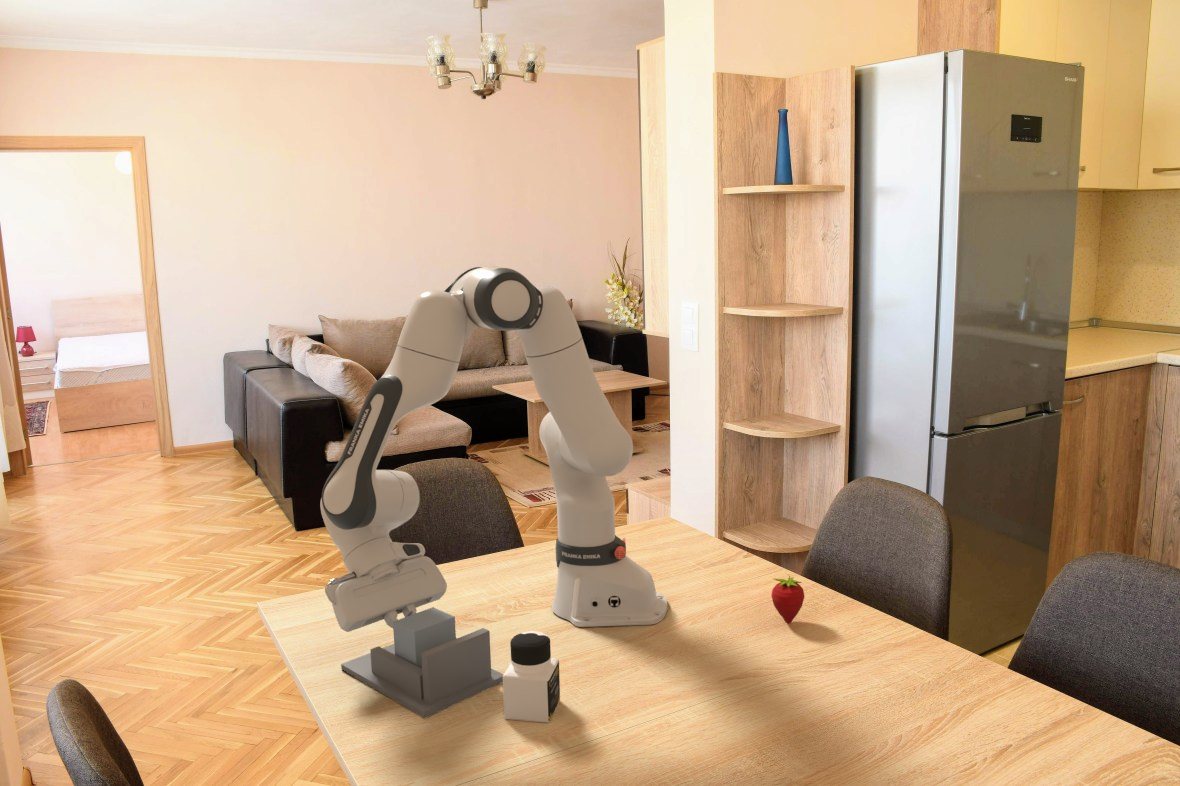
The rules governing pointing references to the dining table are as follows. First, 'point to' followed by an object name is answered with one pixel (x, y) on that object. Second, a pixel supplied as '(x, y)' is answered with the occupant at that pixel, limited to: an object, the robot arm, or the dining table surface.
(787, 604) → the strawberry
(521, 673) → the medicine bottle
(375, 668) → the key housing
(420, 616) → the key block
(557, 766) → the dining table surface
